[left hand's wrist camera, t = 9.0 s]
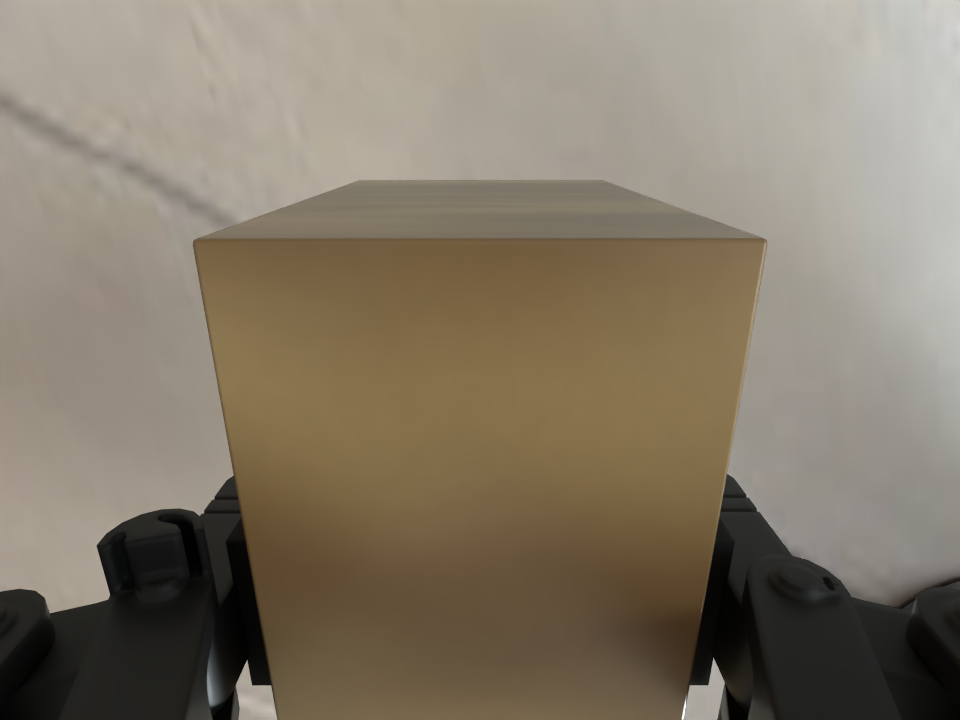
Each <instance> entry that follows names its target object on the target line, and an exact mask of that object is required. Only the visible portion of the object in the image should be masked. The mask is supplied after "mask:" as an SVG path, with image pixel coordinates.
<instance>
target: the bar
mask: <svg viewBox="0 0 960 720" xmlns="http://www.w3.org/2000/svg"><path fill="white" fill-rule="evenodd" d="M193 248H194V254H195V259H196V265H197V271H198V276H199V282H200V287H201V293H202V299H203V304H204V310H205V316H206V321H207V327H208V332H209V338H210V344H211V349H212V355H213V360H214V366H215V372H216V377H217V383H218V389H219V394H220V400H221V405H222V411H223V417H224V422H225V428H226V433H227V439H228V445H229V450H230V456H231V462H232V467H233V473H234V478H235V484H236V490H237V495H238V501H239V506H240V512H241V518H242V523H243V529H244V535H245V540H246V546H247V551H248V557H249V563H250V568H251V574H252V579H253V585H254V591H255V596H256V602H257V608H258V613H259V619H260V624H261V630H262V636H263V641H264V647H265V652H266V658H267V664H268V669H269V675H270V681H271V686H272V692H273V697H274V703H275V709H276V714H277V720H683V719H684V714H685V708H686V702H687V697H688V691H689V685H690V680H691V674H692V668H693V663H694V657H695V651H696V646H697V640H698V634H699V629H700V623H701V617H702V612H703V606H704V600H705V595H706V589H707V583H708V578H709V572H710V566H711V561H712V555H713V549H714V544H715V538H716V532H717V527H718V521H719V515H720V510H721V504H722V498H723V493H724V487H725V481H726V476H727V470H728V464H729V459H730V453H731V448H732V442H733V436H734V431H735V425H736V419H737V414H738V408H739V402H740V397H741V391H742V385H743V380H744V374H745V368H746V363H747V357H748V351H749V346H750V340H751V334H752V329H753V323H754V317H755V312H756V306H757V300H758V295H759V289H760V283H761V278H762V272H763V266H764V261H765V255H766V249H767V241H766V239H763V238H761V237H758V236H755V235H753V234H750V233H747V232H744V231H741V230H739V229H736V228H733V227H730V226H728V225H725V224H722V223H719V222H716V221H714V220H711V219H708V218H705V217H703V216H700V215H697V214H694V213H691V212H689V211H686V210H683V209H680V208H678V207H675V206H672V205H669V204H666V203H664V202H661V201H658V200H655V199H653V198H650V197H647V196H644V195H642V194H639V193H636V192H633V191H630V190H628V189H625V188H622V187H619V186H617V185H614V184H611V183H608V182H605V181H603V180H359V181H356V182H354V183H351V184H348V185H345V186H342V187H340V188H337V189H334V190H331V191H328V192H326V193H323V194H320V195H317V196H315V197H312V198H309V199H306V200H303V201H301V202H298V203H295V204H292V205H289V206H287V207H284V208H281V209H278V210H276V211H273V212H270V213H267V214H264V215H262V216H259V217H256V218H253V219H250V220H248V221H245V222H242V223H239V224H236V225H234V226H231V227H228V228H225V229H223V230H220V231H217V232H214V233H211V234H209V235H206V236H203V237H200V238H198V239H195V240H194V241H193Z"/></svg>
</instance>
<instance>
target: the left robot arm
mask: <svg viewBox="0 0 960 720" xmlns="http://www.w3.org/2000/svg"><path fill="white" fill-rule="evenodd" d="M97 549H98V552H99V556H100V559H101V563H102V566H103V570H104V574H105V577H106V581H107V584H108V588H109V591H110V597H109V599H108V600H106V601H102V602H99V603H95V604H91V605H86V606H82V607H77V608H73V609H68V610H64V611H59V612H55V613H49V610H48V607H47V604H46V601H45V598H44V597H43V596H41V595H40V594H39V593H38V592H36V591H32V590H24V589H15V590H9V591H2V592H0V720H238V718H239V701H238V695H237V690H236V683H237V681H238V679H239V676H240V674H241V672H242V670H243V667H244V665H245V663H246V661H247V660H248V665H249V670H250V676H251V681H252V685H271V681H270V675H269V669H268V664H267V658H266V652H265V647H264V641H263V636H262V630H261V624H260V619H259V613H258V608H257V602H256V596H255V591H254V585H253V579H252V574H251V568H250V563H249V557H248V551H247V546H246V540H245V535H244V529H243V523H242V518H241V512H240V506H239V501H238V495H237V490H236V484H235V478H234V476H233V477H231V478H230V479H228V480H227V481H226V482H225V484H224V485H223V486H222V488H221V489H220V490H219V492H218V493H217V494H216V496H215V499H214V500H212V501H211V502H210V504H209V505H208V506H207V508H206V509H205V510H204V514H201V516H199V515H197V514H196V513H195V512H193V511H188V510H184V509H162V510H158V511H153V512H149V513H145V514H141V515H139V516H137V517H134V518H132V519H130V520H128V521H125V522H123V523H121V524H120V525H118V526H117V527H115V528H114V529H113V530H111V531H110V532H108V533H107V534H106V535H105V536H104V537H103V539H102V540H101V541H100V542H99V543H98V545H97ZM713 657H714V659H715V661H716V664H717V666H718V668H719V670H720V672H721V675H722V677H723V679H724V681H725V685H724V690H723V695H722V700H721V705H720V710H719V715H718V720H960V581H958V582H955V583H952V584H949V585H946V586H944V587H934V588H926V589H925V590H923V591H922V592H921V593H919V594H918V595H917V597H916V600H915V601H913V602H911V603H910V604H908V605H907V606H905V607H904V608H902V609H899V608H894V607H890V606H885V605H881V604H876V603H872V602H867V601H863V600H860V599H856V598H853V597H851V596H850V594H849V592H848V591H847V589H846V588H845V586H844V585H843V584H842V582H841V581H840V580H839V579H838V578H836V577H835V576H834V575H833V574H831V573H830V572H829V571H827V570H826V569H824V568H822V567H820V566H818V565H816V564H814V563H812V562H810V561H808V560H805V559H802V558H798V557H794V556H792V555H791V553H790V552H789V551H788V549H787V548H786V547H785V545H784V544H783V543H782V541H781V540H780V539H779V537H778V536H777V535H776V534H775V532H774V531H773V530H772V528H771V527H770V526H769V524H768V523H767V522H766V520H765V519H764V518H763V516H762V515H761V514H760V512H757V510H756V507H755V506H754V504H753V503H752V502H751V500H750V499H749V498H746V494H745V492H744V491H743V490H742V489H741V487H740V486H739V485H738V483H737V482H736V481H735V479H734V478H732V477H731V476H729V475H728V474H727V476H726V481H725V487H724V493H723V498H722V504H721V510H720V515H719V521H718V527H717V532H716V538H715V544H714V549H713V555H712V561H711V566H710V572H709V578H708V583H707V589H706V595H705V600H704V606H703V612H702V617H701V623H700V629H699V634H698V640H697V646H696V651H695V657H694V663H693V668H692V674H691V680H690V685H708V684H709V678H710V673H711V667H712V662H713Z"/></svg>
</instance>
